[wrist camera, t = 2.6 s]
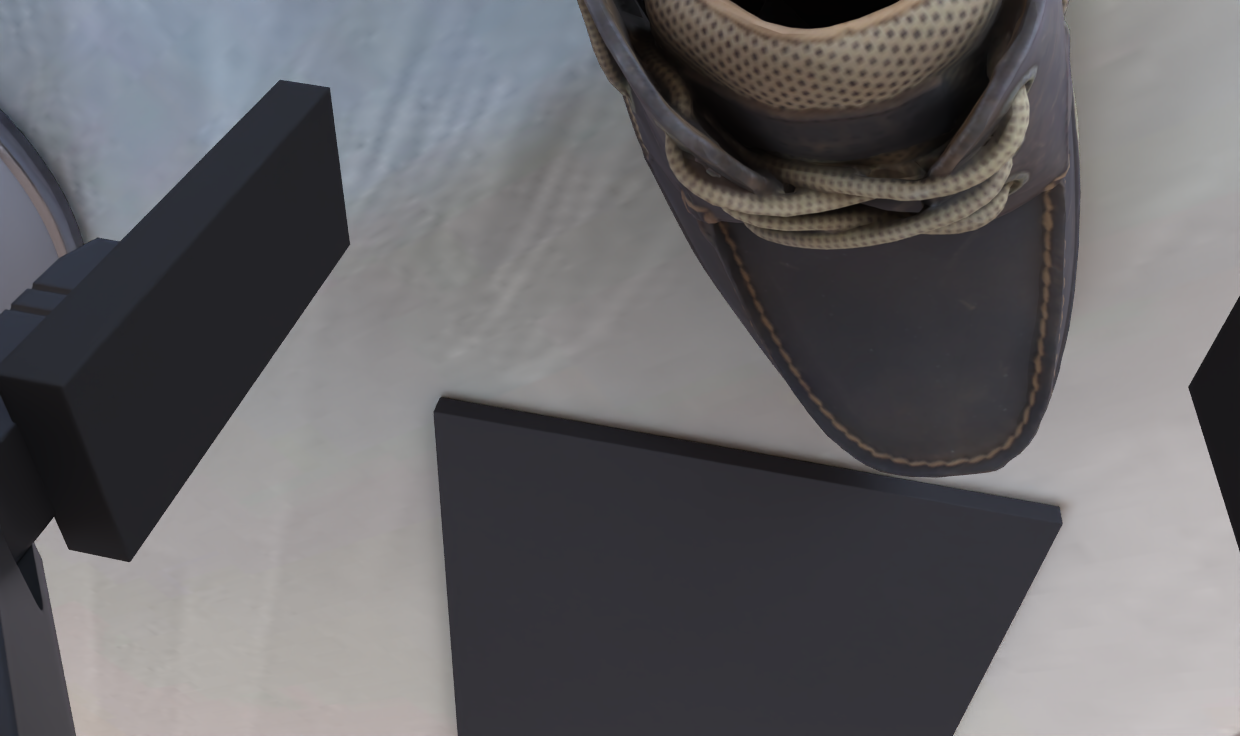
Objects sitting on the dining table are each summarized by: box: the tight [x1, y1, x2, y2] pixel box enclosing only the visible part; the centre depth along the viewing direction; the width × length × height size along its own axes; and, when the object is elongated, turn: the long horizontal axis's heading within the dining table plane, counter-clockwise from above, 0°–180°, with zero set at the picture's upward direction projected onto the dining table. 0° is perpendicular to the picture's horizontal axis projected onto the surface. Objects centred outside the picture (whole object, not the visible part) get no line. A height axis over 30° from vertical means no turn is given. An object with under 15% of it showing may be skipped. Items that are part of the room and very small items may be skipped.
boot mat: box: [434, 398, 1062, 736], centre depth 45 cm, size 22×24×1 cm
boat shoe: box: [577, 0, 1080, 477], centre depth 22 cm, size 11×29×11 cm, turn 23°
